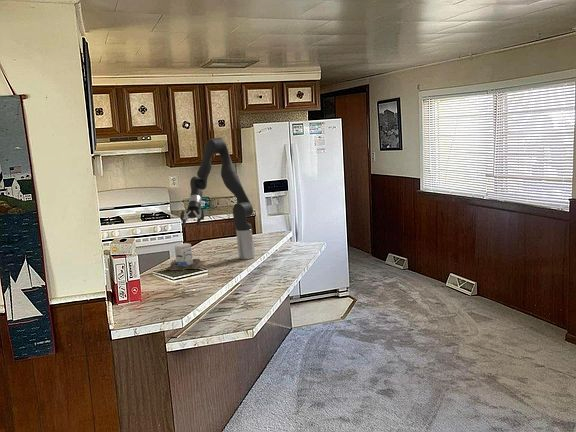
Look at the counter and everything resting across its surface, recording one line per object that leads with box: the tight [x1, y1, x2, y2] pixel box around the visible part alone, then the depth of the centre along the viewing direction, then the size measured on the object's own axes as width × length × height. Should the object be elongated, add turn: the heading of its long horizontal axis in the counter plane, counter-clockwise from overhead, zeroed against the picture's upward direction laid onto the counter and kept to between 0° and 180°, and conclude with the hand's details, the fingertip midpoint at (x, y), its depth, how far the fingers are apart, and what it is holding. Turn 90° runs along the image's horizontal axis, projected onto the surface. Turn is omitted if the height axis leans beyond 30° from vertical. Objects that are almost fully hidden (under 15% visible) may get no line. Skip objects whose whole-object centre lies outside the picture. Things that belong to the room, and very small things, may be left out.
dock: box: [165, 258, 207, 270], centre depth 304 cm, size 18×18×4 cm
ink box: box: [174, 243, 194, 265], centre depth 303 cm, size 9×5×12 cm, turn 144°
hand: (190, 225), depth 315 cm, fingers open, 8 cm apart
